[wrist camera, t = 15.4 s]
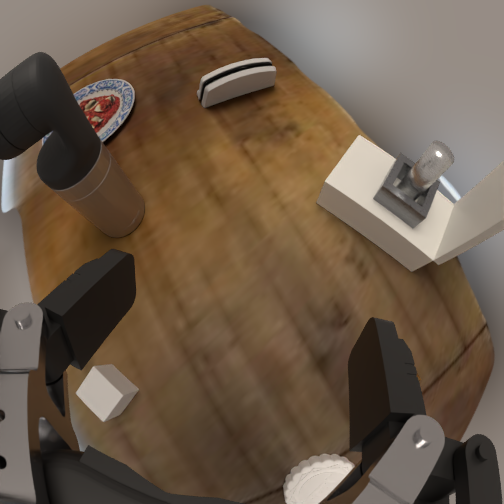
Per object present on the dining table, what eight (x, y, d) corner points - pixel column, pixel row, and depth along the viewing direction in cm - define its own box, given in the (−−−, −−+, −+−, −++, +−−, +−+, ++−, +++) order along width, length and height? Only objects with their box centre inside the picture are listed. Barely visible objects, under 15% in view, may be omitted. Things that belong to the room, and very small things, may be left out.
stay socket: (372, 198, 39) (382, 185, 35) (390, 166, 41) (400, 152, 37) (412, 228, 38) (425, 218, 34) (427, 194, 39) (439, 182, 36)
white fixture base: (316, 202, 47) (364, 73, 21) (349, 156, 50) (399, 38, 24) (416, 275, 43) (533, 210, 17) (439, 221, 46) (532, 141, 20)
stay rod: (389, 198, 39) (429, 151, 28) (396, 182, 40) (434, 136, 29) (408, 211, 38) (451, 170, 27) (414, 195, 39) (455, 153, 28)
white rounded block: (264, 73, 57) (273, 48, 47) (273, 88, 57) (283, 64, 47) (195, 95, 55) (193, 70, 45) (203, 112, 55) (202, 88, 45)
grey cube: (95, 388, 38) (75, 393, 32) (112, 363, 39) (93, 365, 34) (121, 414, 37) (103, 422, 31) (139, 389, 38) (123, 395, 33)
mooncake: (322, 517, 31) (326, 528, 27) (267, 491, 33) (267, 502, 30) (370, 470, 33) (378, 478, 30) (317, 440, 36) (322, 448, 32)
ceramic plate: (88, 82, 60) (84, 75, 57) (158, 89, 57) (154, 80, 54) (31, 154, 53) (25, 148, 50) (92, 176, 50) (85, 169, 47)
